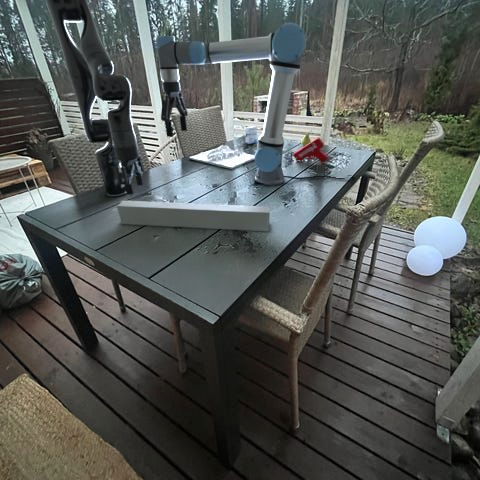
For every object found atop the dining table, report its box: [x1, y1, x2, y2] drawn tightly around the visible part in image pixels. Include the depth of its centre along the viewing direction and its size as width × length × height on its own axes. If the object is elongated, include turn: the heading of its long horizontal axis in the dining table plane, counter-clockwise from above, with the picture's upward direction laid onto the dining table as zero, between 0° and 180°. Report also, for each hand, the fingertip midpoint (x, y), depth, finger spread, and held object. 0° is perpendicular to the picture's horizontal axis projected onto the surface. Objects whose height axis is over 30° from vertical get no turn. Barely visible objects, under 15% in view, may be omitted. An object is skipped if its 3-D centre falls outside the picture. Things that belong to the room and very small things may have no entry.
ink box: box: [245, 125, 258, 145], centre depth 213 cm, size 8×5×12 cm, turn 135°
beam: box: [116, 200, 271, 232], centre depth 103 cm, size 57×5×8 cm, turn 84°
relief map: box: [189, 144, 255, 170], centre depth 177 cm, size 27×35×5 cm
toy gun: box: [293, 136, 329, 165], centre depth 169 cm, size 18×4×15 cm
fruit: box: [300, 129, 313, 147], centre depth 200 cm, size 7×8×12 cm
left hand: (135, 189), depth 100 cm, fingers open, 8 cm apart
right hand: (177, 133), depth 127 cm, fingers open, 13 cm apart
